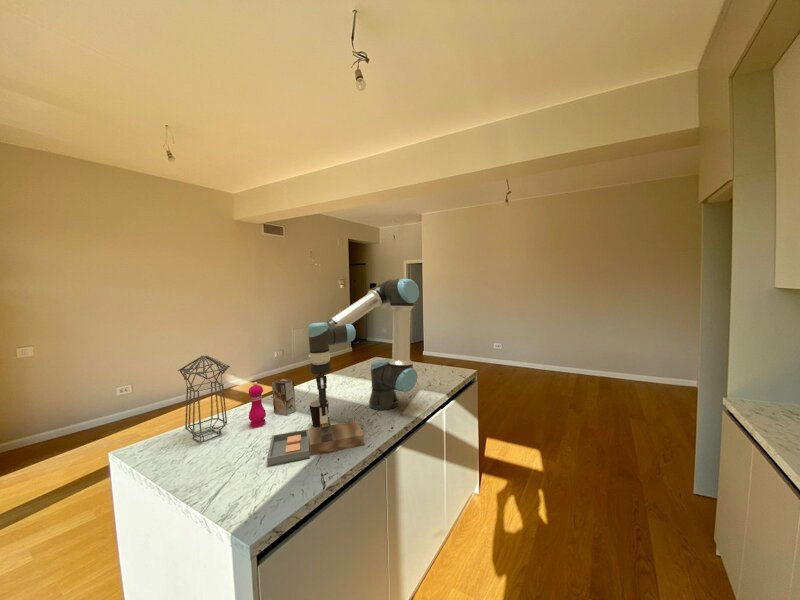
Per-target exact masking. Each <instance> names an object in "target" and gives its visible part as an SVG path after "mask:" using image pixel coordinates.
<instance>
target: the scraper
mask: <svg viewBox="0 0 800 600" xmlns="http://www.w3.org/2000/svg"><path fill="white" fill-rule="evenodd" d="M318 400H320V399H319V398H318ZM327 418H328V423H323V424H321V422H320V430H321V440H322V442H326V441H330V440H333V437H332V430H331V425H332V424H331V421H330V416H329V412H328V413H327ZM319 420H320V419H319Z"/></svg>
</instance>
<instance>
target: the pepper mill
mask: <svg viewBox="0 0 800 600" xmlns="http://www.w3.org/2000/svg"><path fill="white" fill-rule="evenodd" d="M263 393H264V388H263V386H262V385H260V384H259V383H258V382H257V381H254V382H253V384H252V385H251V386H250V387H249V389H248V395H249V396H250V398H249V400H250V401H251V406H250V410H249V412H248V420H249V421H250V422H249V423H250V424H249V425H250V428H252V429H253V428H254V429H255V428H261V427H263V426H264V425H265V424H266V419H265V418H266V416H267V413H266V410H265V407H264V405H263V404H262V403H263V402H262V399H263V395H262V394H263Z"/></svg>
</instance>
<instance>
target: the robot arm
mask: <svg viewBox="0 0 800 600" xmlns="http://www.w3.org/2000/svg"><path fill="white" fill-rule="evenodd" d="M419 297H420V289H419V287H418V284H417V283H416V282H415V281H414V279H413V280H412V279H410V278H397V279H387V280H385V281H383V282H381V283H379V284H377V285H376V286H374V287H372V288H370V290H368V292H367V294H365V296H363V297H361V298H360V299H358V300H357V301H355V302H354V303H352V304H350V305H349V306H347V307H346V308H344V309H343V310H341V311H340V312H338V313H336V314H335V315H333V316H332V317H331V318H328V320H325V321H324V322H313V323H310V324H309V325H308V328H307V329H308V330H307V331H308V333H307V334H308V335H307V336H308V347H309V354H308V356H307V357H308V358H310V359H309V360H310V373H311V375H317V376H315V382H316V389H317V390H318V400H319V399H320V400H319V403H320V404H319V406H318V408H320V422H321V424H323V423H328V418H327V402H328V401H329V400H328V399H327V381H328V379H327V375H325V374H327V373H330V372H331V362H330V361H331V354H330V346H334V345H340V344H345V343H346V344H347V343H350V342H353V341H354V340H355V339H356V336H357V335H356V332H357V331H356V328H355V327H354V325H353V324H354V323H355V322H356V321H358V320H359V319H361V318H362V317H364V316H365V315H366V314H369V312H371V311H372V310H373V309H375V308H379V307H381V306H382V305H386V304H389V307H390V308H391V309H392V343H391V344H392V346H391V347H392V350H391V351H392V355H391V357H392V358H389V359H387V358H386V359H380V360H376V361H373V362H372V363H371V364H370V377H371V378H370V380H371V394H370V397H369V400H368V401H369V404H368V405H369V407H370V409H372V410H377V411H387V410H392V409H395V408H396V407H398V406H399V398H398V396H397V392H400V393H401V392H403V393H408V392H410V391H412V390H413V389H414V387H416V384H417V382H418V376H419V375H418V372H417V370H416V369H415V368H413V367H414V363H413V361H412V360H411V313H412V311H411V310H412V309H414V307H415V303H416V302H417V301H418V299H419ZM396 391H397V392H396ZM327 400H328V401H327Z"/></svg>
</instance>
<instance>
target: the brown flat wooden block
mask: <svg viewBox="0 0 800 600" xmlns="http://www.w3.org/2000/svg"><path fill="white" fill-rule="evenodd" d="M308 430H309V455H310V456H315V455H320V454H324V453H331V452H335V451H340V450H341V451H342V450H345V449H350V448H355V447H360V446H365V437H364V432H363V429H362V428H361V425H360V423H359V420H353V421H346V422H345V421H344V422H340V423H333V424H331V430H332V437H333V440H330V441H326V442H322V440H321V430H320V427H316V428H315V427H312V428H309V429H308Z"/></svg>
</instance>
